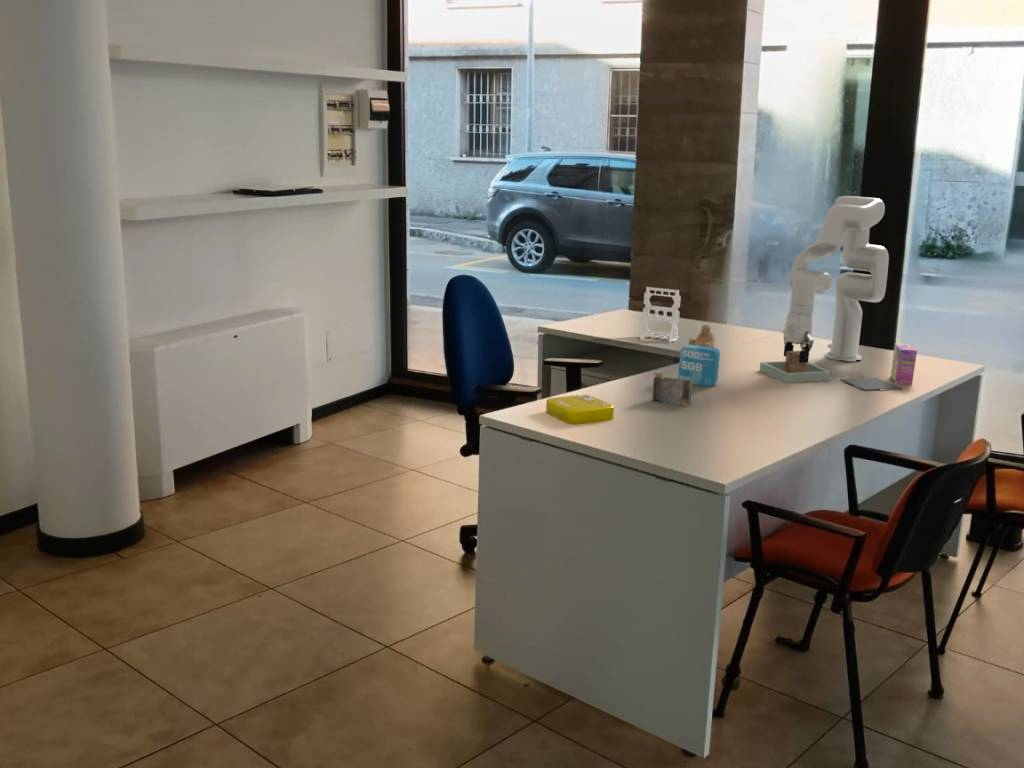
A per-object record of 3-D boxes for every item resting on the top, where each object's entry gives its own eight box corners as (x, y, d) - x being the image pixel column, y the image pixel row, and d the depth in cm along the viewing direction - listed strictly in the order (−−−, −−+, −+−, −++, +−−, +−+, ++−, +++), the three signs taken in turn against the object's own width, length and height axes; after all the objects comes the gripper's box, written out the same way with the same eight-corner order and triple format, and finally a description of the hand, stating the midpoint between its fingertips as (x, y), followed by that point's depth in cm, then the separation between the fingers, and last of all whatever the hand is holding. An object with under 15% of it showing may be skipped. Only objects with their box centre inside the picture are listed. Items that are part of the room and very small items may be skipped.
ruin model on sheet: (651, 402, 319) (653, 371, 317) (654, 400, 322) (656, 369, 319) (688, 407, 315) (691, 376, 313) (690, 405, 318) (693, 374, 316)
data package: (677, 382, 344) (680, 346, 341) (681, 379, 348) (684, 343, 345) (713, 387, 339) (716, 350, 336) (717, 384, 343) (720, 348, 340)
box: (912, 384, 352) (917, 350, 350) (894, 383, 354) (899, 349, 351) (907, 377, 362) (912, 344, 359) (890, 376, 363) (894, 342, 361)
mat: (840, 380, 354) (840, 379, 354) (875, 379, 358) (876, 377, 358) (865, 390, 341) (865, 389, 341) (901, 389, 345) (902, 387, 345)
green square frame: (759, 370, 365) (760, 362, 364) (802, 368, 370) (803, 360, 369) (785, 382, 349) (786, 373, 348) (830, 380, 354) (831, 371, 353)
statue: (731, 331, 377) (713, 325, 371) (720, 368, 378) (702, 363, 372) (706, 325, 387) (688, 319, 380) (695, 362, 388) (677, 357, 381)
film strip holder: (682, 337, 416) (686, 287, 411) (672, 344, 404) (676, 292, 399) (647, 333, 421) (650, 284, 417) (636, 339, 409) (640, 288, 404)
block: (784, 374, 361) (786, 351, 359) (796, 373, 362) (799, 350, 360) (791, 377, 356) (794, 354, 354) (804, 377, 358) (807, 354, 356)
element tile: (543, 413, 304) (544, 396, 302) (586, 407, 311) (587, 392, 310) (571, 426, 291) (572, 410, 290) (615, 421, 298) (617, 404, 297)
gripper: (777, 305, 361) (772, 354, 365) (805, 314, 344) (799, 365, 348) (797, 305, 363) (791, 353, 367) (825, 313, 347) (819, 364, 351)
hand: (795, 359), depth 358 cm, fingers open, 9 cm apart
